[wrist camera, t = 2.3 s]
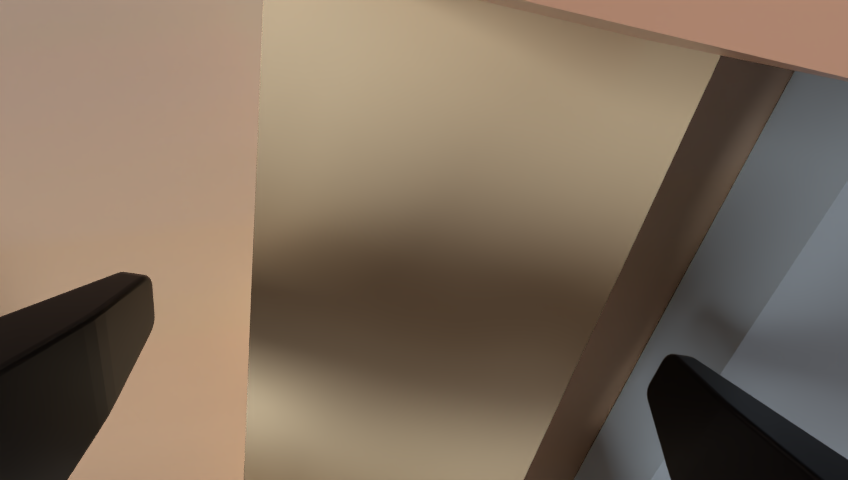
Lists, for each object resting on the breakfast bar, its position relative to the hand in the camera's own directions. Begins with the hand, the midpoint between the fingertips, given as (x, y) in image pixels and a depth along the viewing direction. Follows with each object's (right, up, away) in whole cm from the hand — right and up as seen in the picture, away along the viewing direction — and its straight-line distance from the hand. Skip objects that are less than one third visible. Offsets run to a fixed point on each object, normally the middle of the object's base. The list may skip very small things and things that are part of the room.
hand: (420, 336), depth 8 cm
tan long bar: (0, +2, +4) cm, 4 cm away
